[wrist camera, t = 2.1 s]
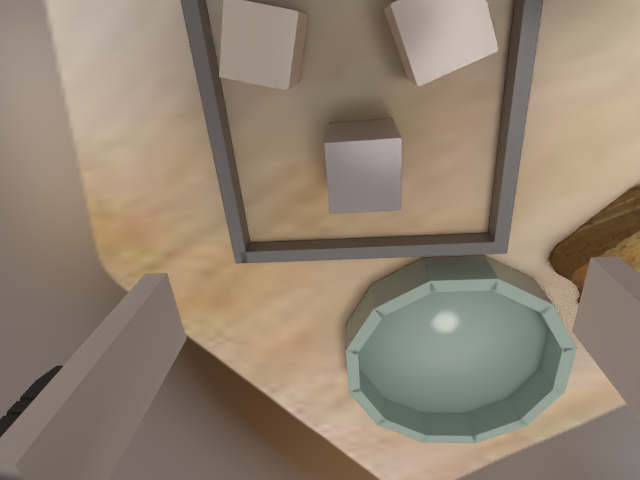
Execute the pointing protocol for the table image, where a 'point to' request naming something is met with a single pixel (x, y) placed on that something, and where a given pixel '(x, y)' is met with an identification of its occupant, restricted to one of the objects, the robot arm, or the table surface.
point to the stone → (602, 239)
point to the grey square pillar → (363, 166)
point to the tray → (379, 247)
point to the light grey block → (262, 44)
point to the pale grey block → (440, 35)
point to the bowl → (456, 350)
